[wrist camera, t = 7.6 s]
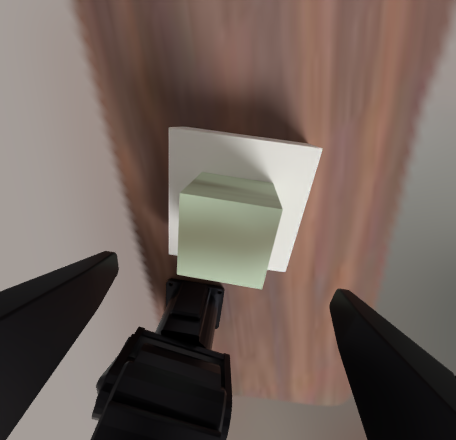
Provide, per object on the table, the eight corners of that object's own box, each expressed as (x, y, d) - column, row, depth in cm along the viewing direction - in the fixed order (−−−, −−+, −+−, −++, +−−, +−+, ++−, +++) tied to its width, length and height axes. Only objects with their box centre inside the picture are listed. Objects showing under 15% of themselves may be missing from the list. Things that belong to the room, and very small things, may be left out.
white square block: (278, 246, 21) (285, 272, 18) (182, 232, 21) (168, 254, 18) (306, 143, 17) (322, 148, 13) (185, 126, 17) (168, 127, 14)
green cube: (259, 244, 17) (261, 289, 12) (197, 234, 17) (176, 274, 12) (273, 182, 14) (282, 209, 10) (201, 171, 15) (179, 192, 10)
